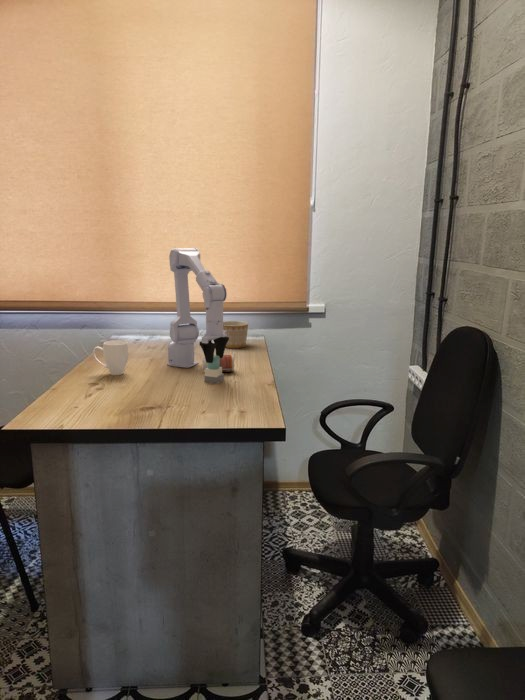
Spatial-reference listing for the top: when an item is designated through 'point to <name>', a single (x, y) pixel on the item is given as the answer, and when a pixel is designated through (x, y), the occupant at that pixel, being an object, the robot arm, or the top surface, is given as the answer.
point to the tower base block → (214, 379)
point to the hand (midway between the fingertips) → (214, 360)
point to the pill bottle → (223, 363)
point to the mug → (114, 355)
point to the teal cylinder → (214, 363)
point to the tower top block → (213, 372)
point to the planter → (236, 333)
